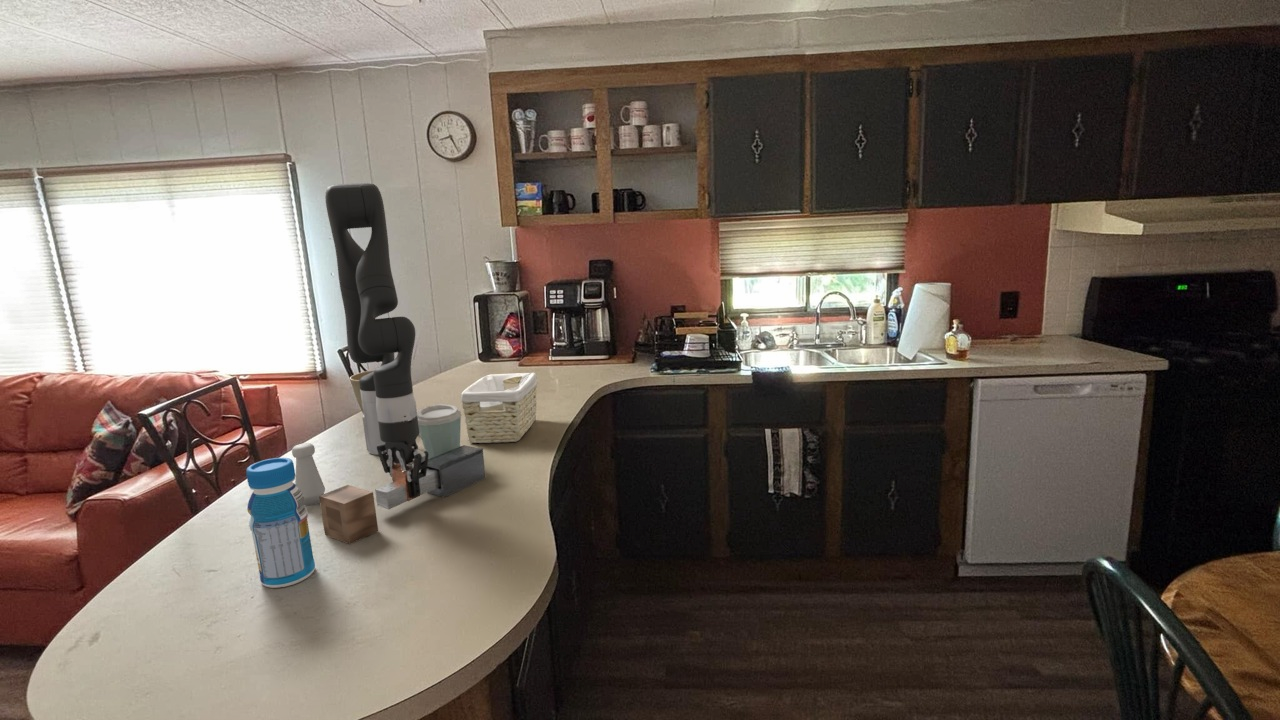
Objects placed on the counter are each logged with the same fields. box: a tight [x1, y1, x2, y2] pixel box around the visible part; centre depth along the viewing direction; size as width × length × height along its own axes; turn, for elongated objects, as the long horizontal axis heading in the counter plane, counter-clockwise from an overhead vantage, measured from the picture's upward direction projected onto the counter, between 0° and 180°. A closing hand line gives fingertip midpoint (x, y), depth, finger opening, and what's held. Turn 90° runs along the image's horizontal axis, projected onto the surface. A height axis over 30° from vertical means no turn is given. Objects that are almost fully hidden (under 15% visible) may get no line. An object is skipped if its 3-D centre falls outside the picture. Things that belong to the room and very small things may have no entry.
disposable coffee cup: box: [417, 403, 462, 459], centre depth 153 cm, size 11×11×15 cm
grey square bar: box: [374, 464, 441, 510], centre depth 136 cm, size 21×4×6 cm, turn 147°
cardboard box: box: [319, 484, 379, 545], centre depth 122 cm, size 6×8×8 cm
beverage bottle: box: [245, 457, 316, 589], centre depth 106 cm, size 8×8×20 cm
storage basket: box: [460, 372, 538, 444], centre depth 181 cm, size 24×16×15 cm
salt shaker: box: [291, 442, 326, 507], centre depth 137 cm, size 6×6×13 cm
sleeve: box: [426, 444, 486, 498], centre depth 143 cm, size 12×6×7 cm, turn 147°
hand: (407, 494), depth 133 cm, fingers closed on grey square bar, 4 cm apart
